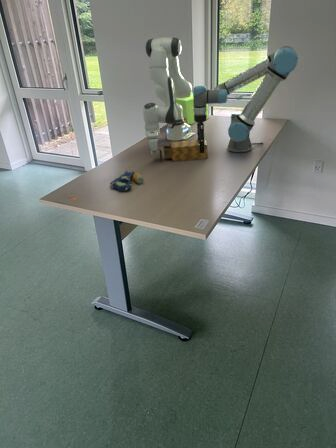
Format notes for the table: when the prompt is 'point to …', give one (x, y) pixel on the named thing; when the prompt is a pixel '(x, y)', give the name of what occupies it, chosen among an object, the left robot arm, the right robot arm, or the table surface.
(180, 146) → the wicker basket box
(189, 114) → the lime green box
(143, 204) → the table surface
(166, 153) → the drawer
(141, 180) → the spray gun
